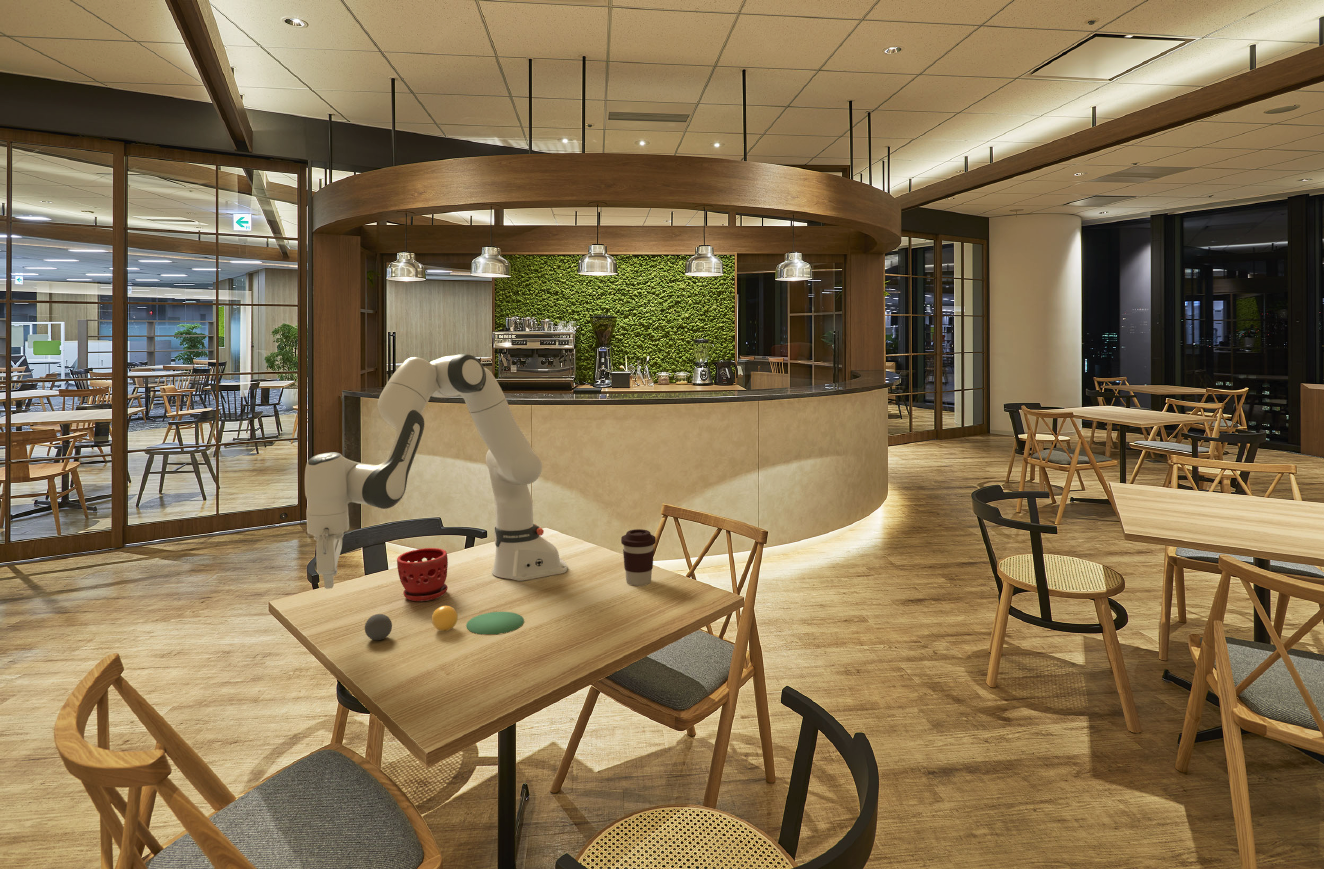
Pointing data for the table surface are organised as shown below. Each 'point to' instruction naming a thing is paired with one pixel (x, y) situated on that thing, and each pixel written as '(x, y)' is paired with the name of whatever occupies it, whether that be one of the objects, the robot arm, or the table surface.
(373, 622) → the dark grey sphere
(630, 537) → the coffee cup
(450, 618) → the orange ball
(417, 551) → the plant pot
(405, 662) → the table surface
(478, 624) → the green mark
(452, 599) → the table surface
